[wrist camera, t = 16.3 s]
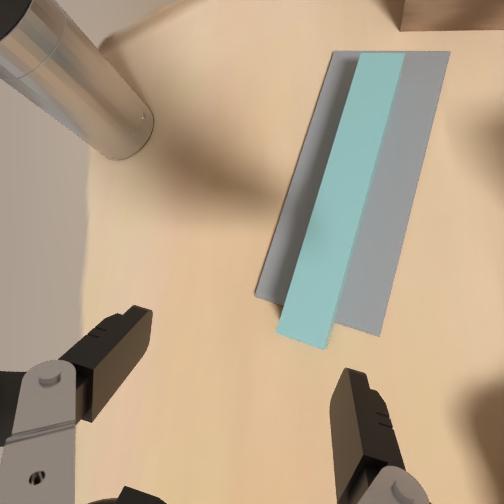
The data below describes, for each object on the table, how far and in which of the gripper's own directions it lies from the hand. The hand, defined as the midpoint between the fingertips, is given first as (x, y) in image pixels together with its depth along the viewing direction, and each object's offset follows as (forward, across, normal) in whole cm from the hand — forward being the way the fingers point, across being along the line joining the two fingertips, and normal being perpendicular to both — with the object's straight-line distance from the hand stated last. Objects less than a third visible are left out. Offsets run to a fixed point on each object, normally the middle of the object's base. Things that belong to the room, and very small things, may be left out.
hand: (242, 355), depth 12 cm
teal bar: (+22, +6, +4) cm, 22 cm away
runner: (+24, +6, +6) cm, 25 cm away
